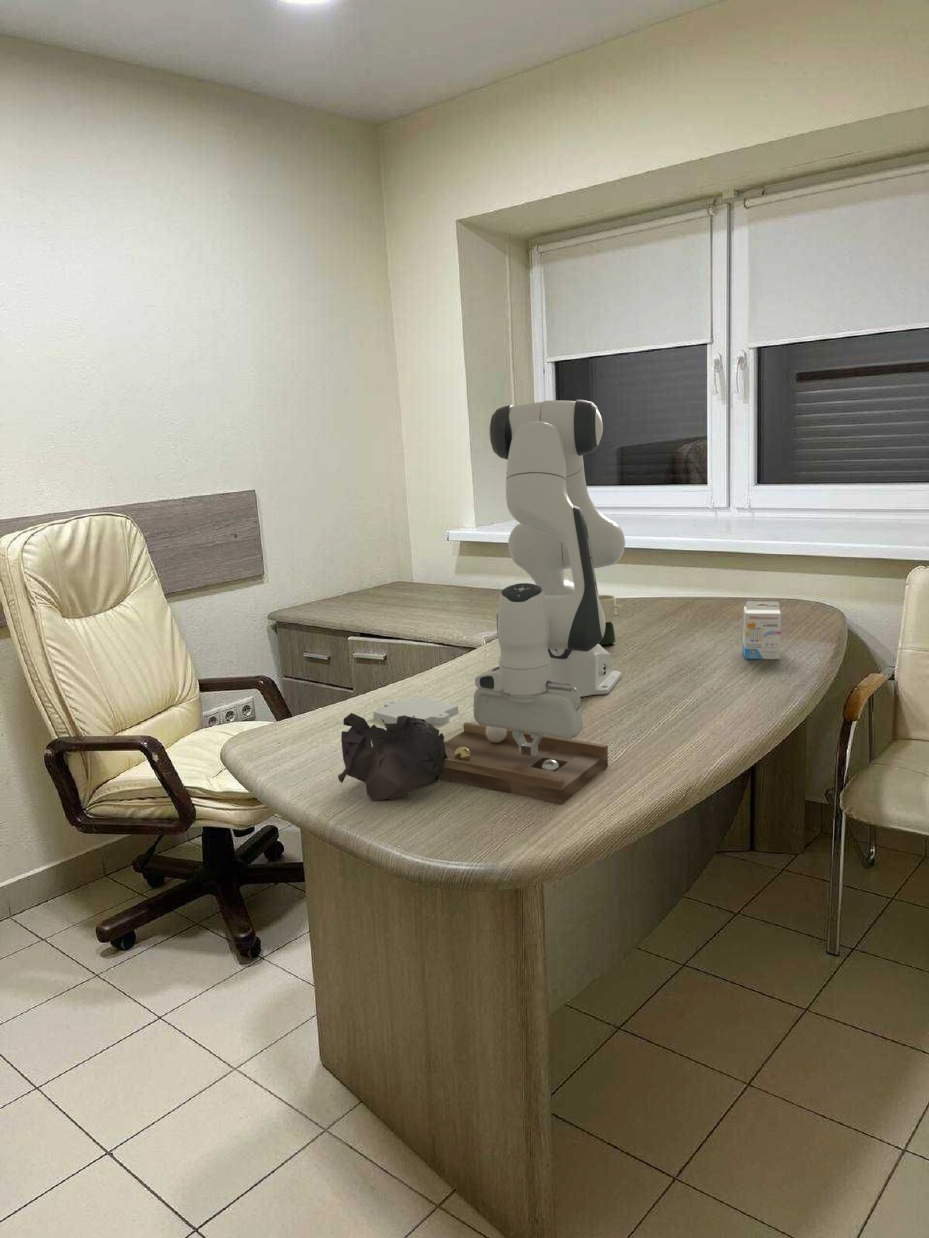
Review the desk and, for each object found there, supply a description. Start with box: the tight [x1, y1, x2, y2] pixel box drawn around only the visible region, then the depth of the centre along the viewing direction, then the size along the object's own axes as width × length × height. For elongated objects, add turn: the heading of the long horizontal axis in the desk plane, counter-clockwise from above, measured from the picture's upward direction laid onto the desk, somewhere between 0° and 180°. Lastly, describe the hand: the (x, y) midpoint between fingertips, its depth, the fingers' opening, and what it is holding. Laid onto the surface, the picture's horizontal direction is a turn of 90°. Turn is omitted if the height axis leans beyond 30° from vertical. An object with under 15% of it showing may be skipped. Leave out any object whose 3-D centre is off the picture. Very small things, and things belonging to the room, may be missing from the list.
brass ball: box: [454, 747, 471, 761], centre depth 161 cm, size 3×3×3 cm
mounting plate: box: [372, 695, 460, 726], centre depth 196 cm, size 18×13×2 cm
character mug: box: [598, 594, 622, 646], centre depth 245 cm, size 11×7×13 cm, turn 53°
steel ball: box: [541, 759, 560, 772], centre depth 158 cm, size 3×3×3 cm
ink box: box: [741, 600, 782, 660], centre depth 226 cm, size 9×8×13 cm
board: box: [439, 722, 609, 806], centre depth 163 cm, size 18×30×4 cm, turn 57°
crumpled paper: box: [337, 712, 450, 802], centre depth 154 cm, size 14×15×20 cm
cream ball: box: [485, 726, 507, 743], centre depth 170 cm, size 4×4×4 cm
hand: (528, 754), depth 160 cm, fingers closed
